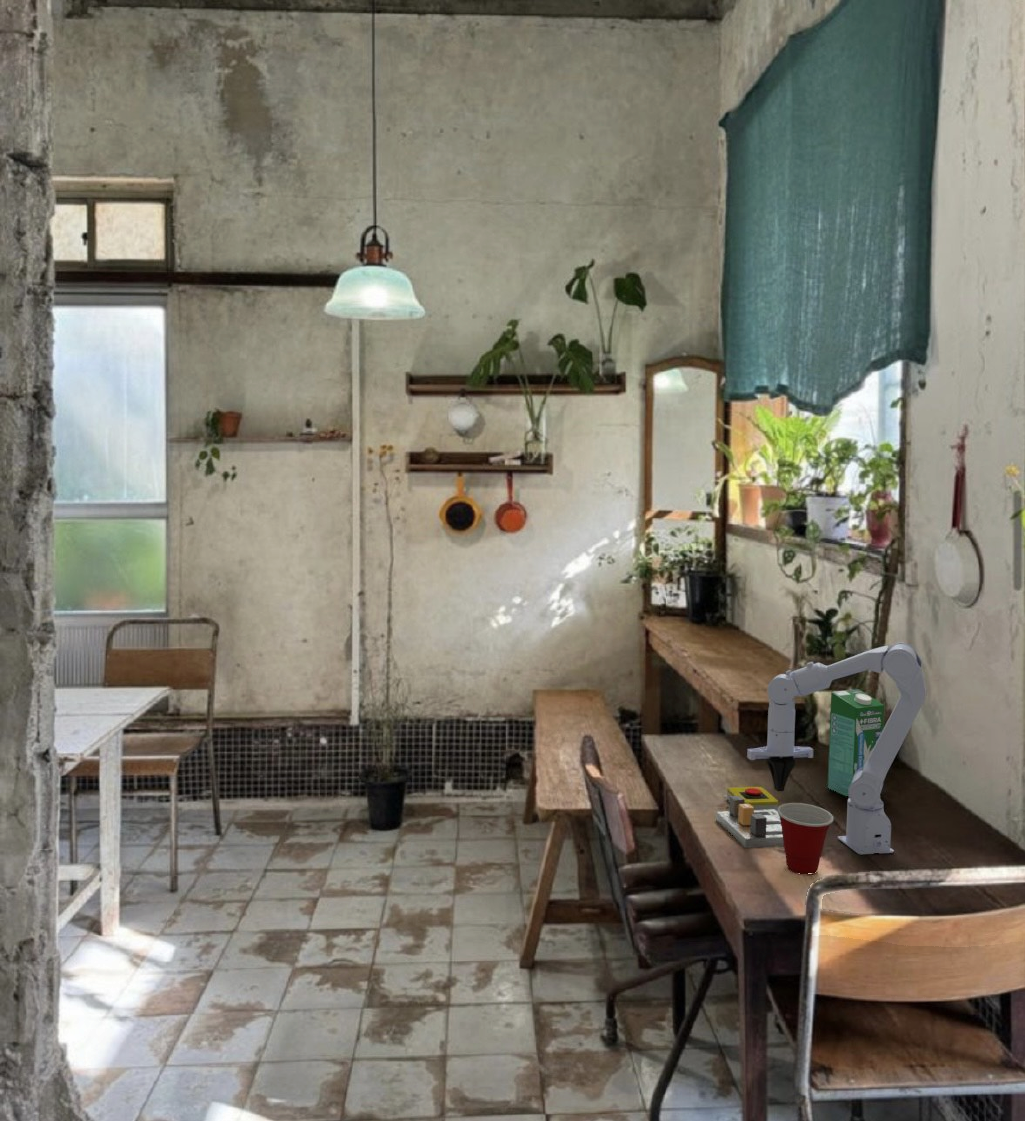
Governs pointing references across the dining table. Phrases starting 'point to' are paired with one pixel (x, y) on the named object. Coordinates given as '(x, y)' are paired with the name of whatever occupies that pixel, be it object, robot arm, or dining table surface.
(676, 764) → the dining table surface
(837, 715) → the milk carton
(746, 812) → the breaker
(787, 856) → the plastic cup
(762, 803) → the emergency button
